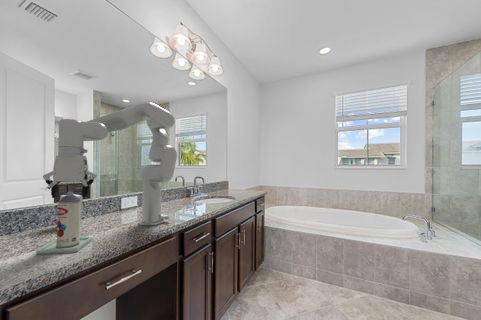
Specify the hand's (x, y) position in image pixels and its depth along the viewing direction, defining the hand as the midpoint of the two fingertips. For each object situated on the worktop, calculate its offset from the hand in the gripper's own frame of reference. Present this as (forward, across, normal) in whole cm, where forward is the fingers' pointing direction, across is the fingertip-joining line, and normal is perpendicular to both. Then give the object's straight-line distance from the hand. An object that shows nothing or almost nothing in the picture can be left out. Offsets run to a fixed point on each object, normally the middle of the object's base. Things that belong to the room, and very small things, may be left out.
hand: (70, 196), depth 80 cm
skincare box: (+19, +14, -29) cm, 38 cm away
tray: (+19, +1, +1) cm, 19 cm away
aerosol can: (+18, 0, +1) cm, 18 cm away
